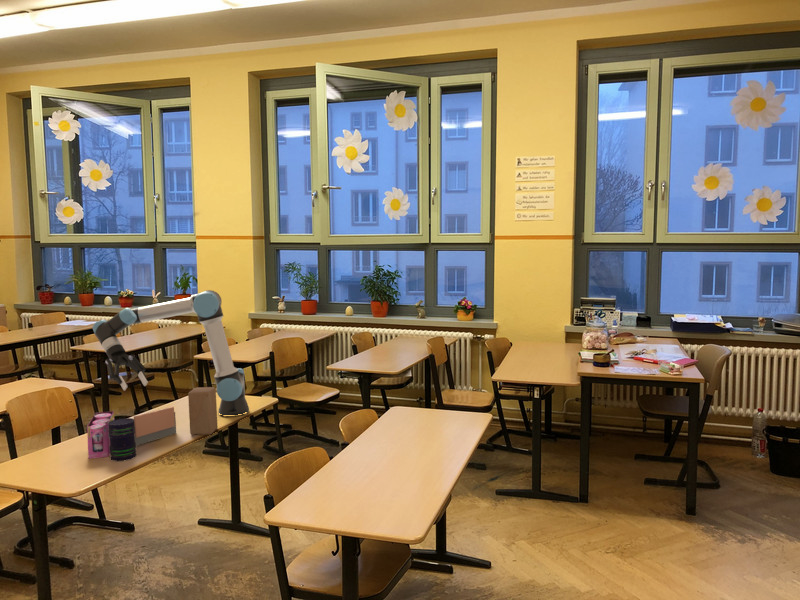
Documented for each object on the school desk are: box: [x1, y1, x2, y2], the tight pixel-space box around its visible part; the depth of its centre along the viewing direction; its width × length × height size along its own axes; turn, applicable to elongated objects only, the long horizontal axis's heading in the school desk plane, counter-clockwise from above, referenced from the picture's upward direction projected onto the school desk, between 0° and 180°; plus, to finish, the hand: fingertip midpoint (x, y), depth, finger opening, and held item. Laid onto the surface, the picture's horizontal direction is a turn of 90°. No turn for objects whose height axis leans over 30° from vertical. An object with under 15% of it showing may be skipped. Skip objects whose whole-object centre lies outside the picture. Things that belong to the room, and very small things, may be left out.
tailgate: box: [133, 406, 176, 438], centre depth 273 cm, size 19×1×9 cm, turn 146°
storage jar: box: [108, 417, 137, 462], centre depth 252 cm, size 10×10×15 cm
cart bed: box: [134, 411, 177, 447], centre depth 276 cm, size 22×9×10 cm, turn 146°
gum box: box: [86, 410, 115, 459], centre depth 261 cm, size 24×8×14 cm, turn 18°
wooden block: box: [187, 386, 218, 436], centre depth 284 cm, size 10×10×20 cm
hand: (136, 386), depth 279 cm, fingers open, 9 cm apart
